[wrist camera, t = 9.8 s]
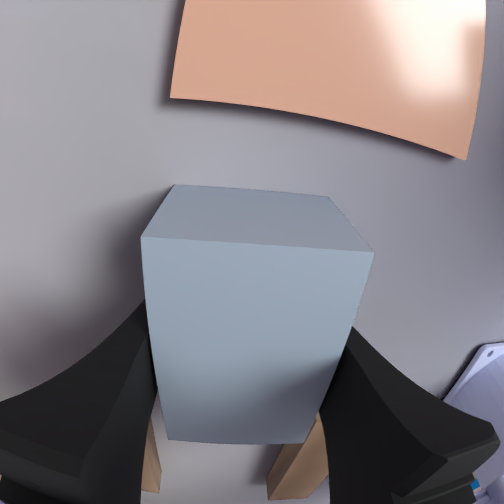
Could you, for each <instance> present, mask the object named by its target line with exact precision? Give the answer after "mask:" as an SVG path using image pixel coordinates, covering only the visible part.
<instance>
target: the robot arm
mask: <svg viewBox="0 0 504 504" xmlns="http://www.w3.org/2000/svg"><path fill="white" fill-rule="evenodd" d="M157 391H158V386H157V380H156V374H155V368H154V362H153V355H152V348H151V341H150V334H149V326H148V318H147V309H146V299H144V300H143V302H142V303H141V304H140V305H139V306H138V307H137V308H136V309H135V310H134V312H133V313H132V314H131V315H130V316H129V317H128V318H127V319H126V320H125V321H124V322H123V323H122V324H121V325H120V326H119V327H118V328H117V329H116V330H115V331H114V332H113V333H112V334H111V335H110V336H108V337H107V338H106V339H105V340H104V341H103V342H102V343H101V344H100V345H98V346H97V347H96V348H95V349H94V350H92V351H91V352H90V353H89V354H87V355H86V356H85V357H84V358H82V359H81V360H80V361H78V362H77V363H75V364H74V365H72V366H71V367H69V368H68V369H66V370H65V371H63V372H62V373H60V374H58V375H57V376H55V377H54V378H52V379H50V380H48V381H46V382H45V383H43V384H41V385H39V386H37V387H35V388H33V389H31V390H29V391H26V392H24V393H22V394H20V395H17V396H14V397H12V398H9V399H6V400H4V401H1V402H0V474H1V475H2V477H1V480H0V504H140V499H141V484H142V472H143V463H144V454H145V446H146V438H147V431H148V426H149V421H150V417H151V413H152V409H153V405H154V402H155V398H156V394H157ZM319 415H320V419H321V423H322V427H323V431H324V436H325V443H326V451H327V460H328V471H329V485H330V504H504V343H495V344H486V345H483V346H482V347H481V348H480V349H479V350H478V351H477V353H476V354H475V356H474V358H473V359H472V361H471V362H470V364H469V365H468V367H467V368H466V370H465V371H464V372H463V374H462V375H461V377H460V378H459V380H458V381H457V382H456V384H455V385H454V386H453V388H452V389H451V391H450V392H449V393H448V395H447V396H446V397H445V398H444V400H443V401H442V400H440V399H438V398H437V397H435V396H434V395H432V394H430V393H429V392H427V391H426V390H424V389H423V388H421V387H420V386H418V385H417V384H415V383H414V382H413V381H411V380H410V379H409V378H407V377H406V376H405V375H404V374H402V373H401V372H400V371H399V370H397V369H396V368H395V367H394V366H393V365H392V364H391V363H389V362H388V361H387V360H386V359H385V358H384V357H383V356H382V355H381V354H380V353H379V352H377V351H376V350H375V349H374V348H373V347H372V346H371V345H370V344H369V343H368V342H367V341H366V340H365V339H364V338H363V337H362V336H361V335H360V333H359V332H358V331H357V330H356V329H355V328H354V327H353V326H352V327H351V330H350V333H349V336H348V338H347V341H346V344H345V347H344V349H343V352H342V355H341V357H340V360H339V362H338V365H337V368H336V370H335V373H334V375H333V378H332V380H331V383H330V385H329V387H328V390H327V392H326V395H325V397H324V399H323V402H322V404H321V406H320V409H319ZM473 472H474V473H475V475H476V477H477V480H478V482H479V485H480V487H481V490H479V491H477V492H475V493H473V490H472V487H471V485H470V484H472V483H473V482H474V481H475V478H474V476H473V474H472V473H473Z"/></svg>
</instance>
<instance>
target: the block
mask: <svg viewBox="0 0 504 504" xmlns="http://www.w3.org/2000/svg"><path fill="white" fill-rule="evenodd" d="M141 252H142V266H143V278H144V289H145V299H146V309H147V318H148V326H149V334H150V341H151V348H152V355H153V362H154V368H155V374H156V380H157V386H158V392H159V397H160V403H161V408H162V413H163V418H164V423H165V427H166V432H167V437H168V440H178V441H188V442H201V443H217V444H293V443H304V441H305V439H306V437H307V435H308V433H309V431H310V429H311V426H312V424H313V422H314V420H315V418H316V415H317V413H318V411H319V409H320V406H321V404H322V402H323V399H324V397H325V395H326V392H327V390H328V387H329V385H330V383H331V380H332V378H333V375H334V373H335V370H336V368H337V365H338V362H339V360H340V357H341V355H342V352H343V349H344V347H345V344H346V341H347V338H348V336H349V333H350V330H351V327H352V324H353V322H354V319H355V316H356V313H357V310H358V307H359V304H360V301H361V298H362V294H363V291H364V288H365V285H366V282H367V278H368V275H369V272H370V268H371V265H372V261H373V258H374V254H375V252H374V251H373V249H372V248H371V247H370V246H369V244H368V243H367V242H366V241H365V240H364V238H363V237H362V236H361V235H360V233H359V232H358V231H357V230H356V229H355V227H354V226H353V225H352V224H351V223H350V221H349V220H348V219H347V218H346V217H345V215H344V214H343V213H342V212H341V211H340V210H339V208H338V207H337V206H336V205H335V204H334V203H333V202H332V200H331V199H330V198H329V197H324V196H314V195H305V194H295V193H285V192H274V191H262V190H250V189H237V188H223V187H207V186H189V185H174V186H173V188H172V189H171V191H170V192H169V193H168V195H167V196H166V198H165V199H164V201H163V202H162V204H161V206H160V207H159V209H158V210H157V212H156V213H155V215H154V216H153V218H152V219H151V221H150V223H149V224H148V226H147V227H146V229H145V230H144V232H143V234H142V235H141Z"/></svg>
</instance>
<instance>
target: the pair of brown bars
mask: <svg viewBox="0 0 504 504" xmlns="http://www.w3.org/2000/svg"><path fill="white" fill-rule="evenodd" d="M161 472H162V471H161V467H160V462H159V457H158V453H157V448H156V442H155V437H154V432H153V426H152V420H151V417H150V421H149V426H148V431H147V438H146V446H145V454H144V463H143V472H142V484H141V490H142V491H148V492H154V493H159V489H160V480H161ZM328 474H329V471H328V460H327V451H326V443H325V436H324V431H323V427H322V423H321V419H320V415H319V411H318V413H317V415H316V418H315V420H314V422H313V424H312V426H311V429H310V431H309V433H308V435H307V437H306V439H305V441H304V443H293V444H284V445H283V447H282V449H281V451H280V453H279V455H278V457H277V459H276V461H275V463H274V465H273V467H272V469H271V471H270V473H269V474H268V476H267V478H266V481H267V493H268V500H285V499H300V498H307V497H308V496H309V495H310V494H311V493H312V492H313V491H314V490H315V489H316V488H317V487H318V486H319V484H320V483H321V482H322V481H323V480H324V479H325V478H326V477H327V476H328Z"/></svg>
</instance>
